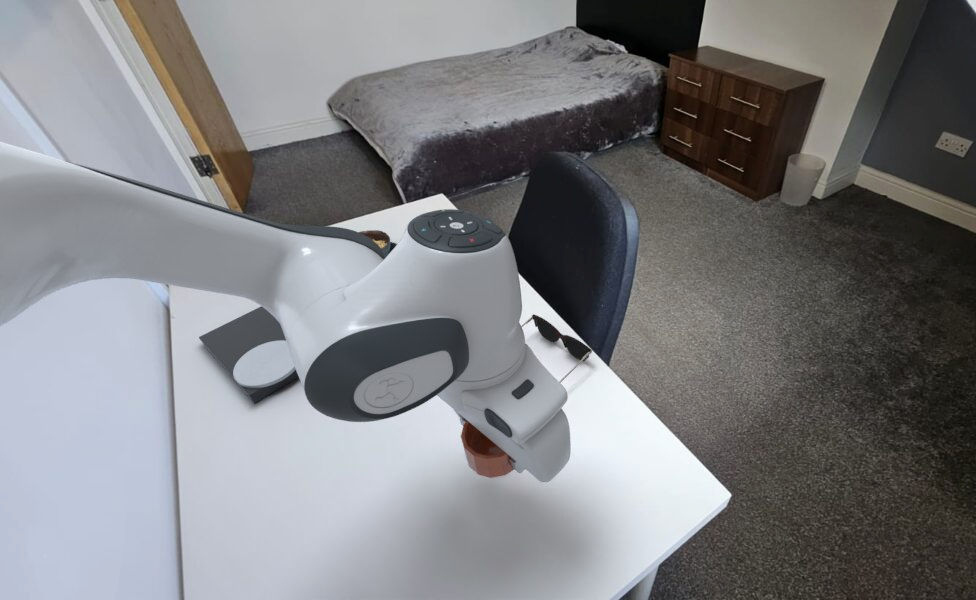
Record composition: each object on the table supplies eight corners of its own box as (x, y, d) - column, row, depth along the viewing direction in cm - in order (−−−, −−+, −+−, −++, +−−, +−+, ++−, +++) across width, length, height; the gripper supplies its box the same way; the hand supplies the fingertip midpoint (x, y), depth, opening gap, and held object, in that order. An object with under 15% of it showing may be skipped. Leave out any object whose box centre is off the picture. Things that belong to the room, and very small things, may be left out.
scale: (257, 407, 75) (249, 396, 73) (204, 345, 85) (196, 334, 83) (379, 332, 88) (375, 321, 86) (321, 286, 98) (316, 275, 96)
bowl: (494, 492, 52) (490, 470, 49) (454, 455, 55) (448, 433, 52) (537, 450, 56) (535, 428, 53) (497, 418, 59) (494, 396, 56)
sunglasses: (592, 366, 83) (592, 348, 79) (528, 430, 74) (525, 412, 71) (536, 330, 89) (533, 312, 86) (471, 385, 80) (465, 367, 77)
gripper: (390, 333, 48) (417, 413, 57) (533, 447, 39) (539, 521, 48) (440, 303, 52) (458, 382, 61) (581, 400, 43) (578, 477, 52)
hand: (495, 444), depth 55 cm, fingers closed on bowl, 7 cm apart
